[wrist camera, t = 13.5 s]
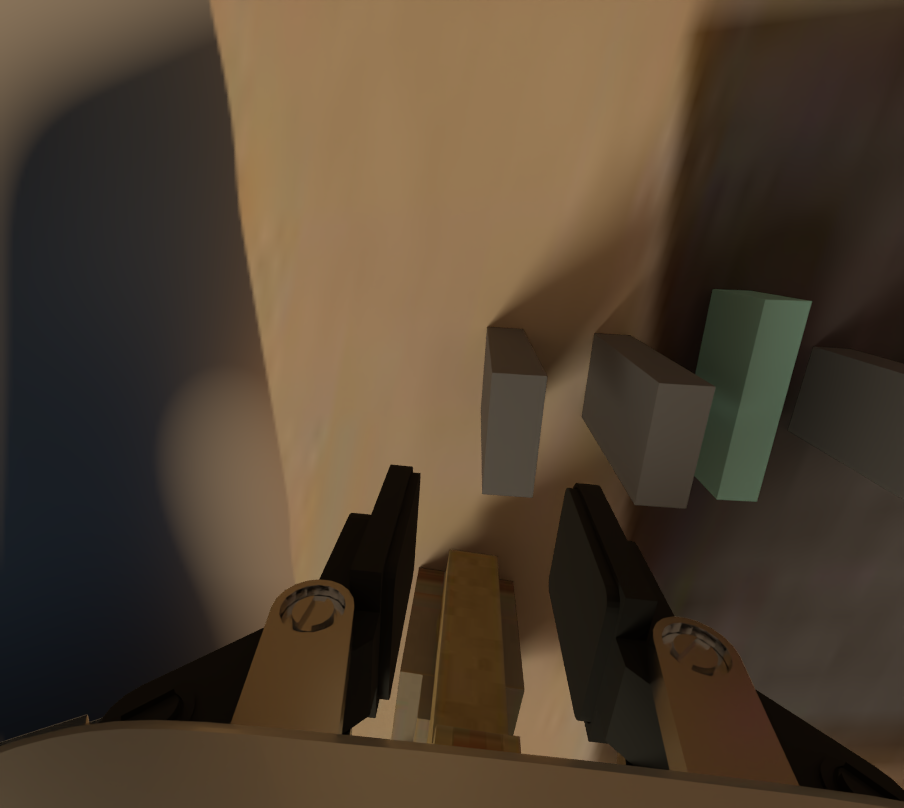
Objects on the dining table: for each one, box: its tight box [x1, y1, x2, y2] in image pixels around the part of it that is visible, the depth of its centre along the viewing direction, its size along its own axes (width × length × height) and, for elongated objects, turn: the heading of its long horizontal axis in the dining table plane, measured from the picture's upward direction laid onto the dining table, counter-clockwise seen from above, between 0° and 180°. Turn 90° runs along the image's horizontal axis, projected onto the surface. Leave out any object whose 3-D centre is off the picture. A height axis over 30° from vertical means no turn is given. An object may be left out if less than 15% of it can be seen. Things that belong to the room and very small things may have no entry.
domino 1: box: [481, 327, 547, 498], centre depth 23 cm, size 5×2×10 cm, turn 177°
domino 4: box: [788, 346, 904, 500], centre depth 22 cm, size 5×2×10 cm, turn 177°
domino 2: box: [582, 333, 716, 509], centre depth 22 cm, size 5×2×10 cm, turn 177°
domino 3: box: [694, 289, 812, 502], centre depth 25 cm, size 5×2×10 cm
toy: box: [391, 549, 524, 753], centre depth 24 cm, size 6×17×20 cm, turn 172°
